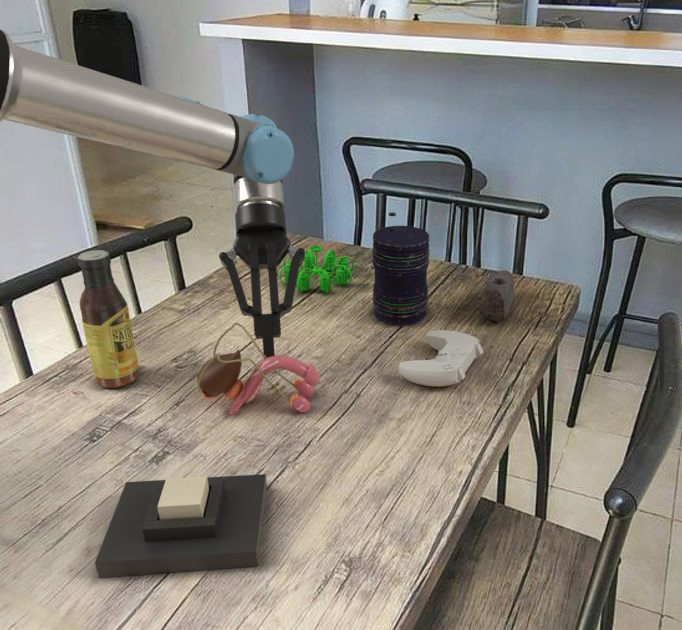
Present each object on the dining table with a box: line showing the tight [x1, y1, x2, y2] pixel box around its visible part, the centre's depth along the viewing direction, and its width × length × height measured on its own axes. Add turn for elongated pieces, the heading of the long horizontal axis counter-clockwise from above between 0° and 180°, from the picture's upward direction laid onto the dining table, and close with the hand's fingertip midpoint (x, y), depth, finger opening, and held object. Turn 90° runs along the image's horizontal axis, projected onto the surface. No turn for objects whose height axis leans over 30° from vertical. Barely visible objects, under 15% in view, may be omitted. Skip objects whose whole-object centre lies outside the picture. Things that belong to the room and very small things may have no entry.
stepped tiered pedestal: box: [94, 473, 268, 579], centre depth 75 cm, size 16×12×4 cm
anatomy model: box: [197, 322, 321, 416], centre depth 95 cm, size 10×14×15 cm
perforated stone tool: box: [480, 269, 515, 323], centre depth 124 cm, size 15×5×7 cm, turn 164°
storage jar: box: [371, 211, 430, 327], centre depth 119 cm, size 10×10×18 cm
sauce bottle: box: [77, 249, 139, 389], centre depth 97 cm, size 6×6×20 cm
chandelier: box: [278, 245, 355, 294], centre depth 133 cm, size 15×15×7 cm
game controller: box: [398, 329, 484, 387], centre depth 106 cm, size 14×4×10 cm
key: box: [157, 475, 209, 520], centre depth 74 cm, size 4×4×2 cm
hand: (269, 359), depth 99 cm, fingers closed
